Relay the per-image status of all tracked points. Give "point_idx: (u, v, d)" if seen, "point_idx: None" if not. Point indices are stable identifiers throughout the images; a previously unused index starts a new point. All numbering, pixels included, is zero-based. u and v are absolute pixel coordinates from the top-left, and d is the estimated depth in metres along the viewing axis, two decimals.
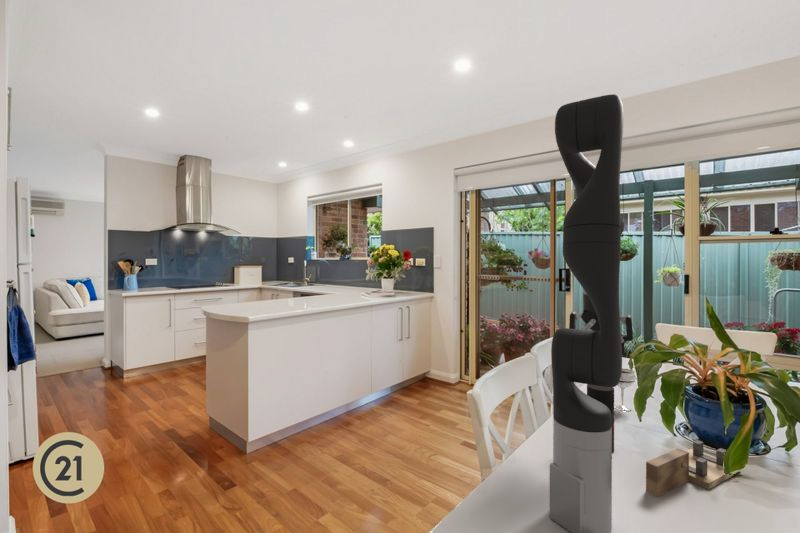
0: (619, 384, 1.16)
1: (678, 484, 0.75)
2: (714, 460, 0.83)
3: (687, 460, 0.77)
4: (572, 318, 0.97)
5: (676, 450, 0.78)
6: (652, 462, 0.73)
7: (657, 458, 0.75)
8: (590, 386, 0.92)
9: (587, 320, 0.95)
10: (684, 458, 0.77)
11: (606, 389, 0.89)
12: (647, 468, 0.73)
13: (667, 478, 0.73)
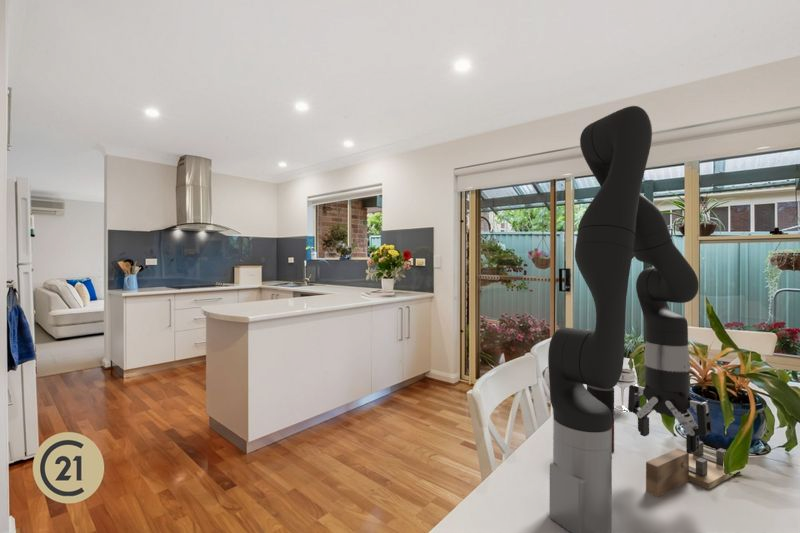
0: (619, 384, 1.16)
1: (678, 484, 0.75)
2: (714, 460, 0.83)
3: (687, 460, 0.77)
4: (632, 391, 0.81)
5: (676, 450, 0.78)
6: (652, 462, 0.73)
7: (657, 458, 0.75)
8: (590, 386, 0.92)
9: (649, 397, 0.78)
10: (684, 458, 0.77)
11: (606, 389, 0.89)
12: (647, 468, 0.73)
13: (667, 478, 0.73)
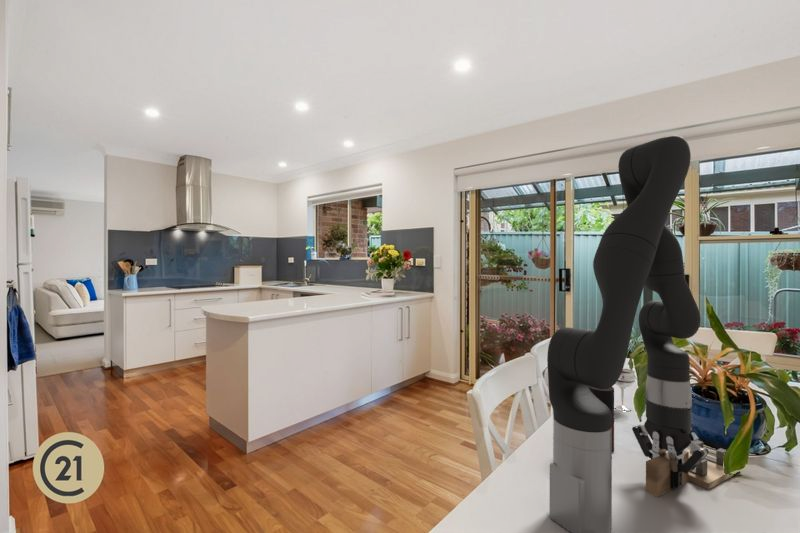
0: (619, 384, 1.16)
1: None
2: (714, 460, 0.83)
3: None
4: (637, 433, 0.80)
5: None
6: (652, 462, 0.73)
7: (657, 458, 0.75)
8: (590, 386, 0.92)
9: (652, 436, 0.77)
10: (684, 457, 0.77)
11: (606, 389, 0.89)
12: (647, 467, 0.73)
13: (667, 478, 0.74)
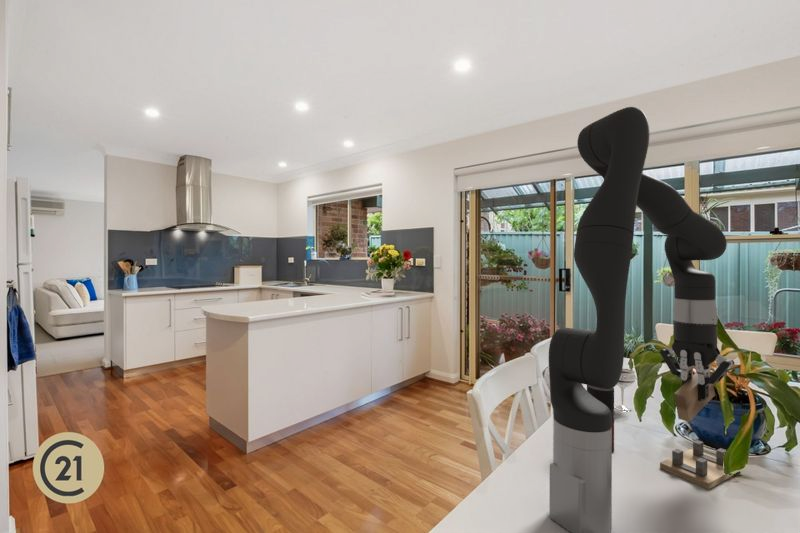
0: (619, 384, 1.16)
1: (706, 402, 0.81)
2: (714, 460, 0.83)
3: None
4: (664, 355, 0.85)
5: None
6: (679, 392, 0.79)
7: (683, 386, 0.80)
8: (590, 386, 0.92)
9: (679, 355, 0.83)
10: None
11: (606, 389, 0.89)
12: (676, 398, 0.79)
13: (695, 402, 0.79)
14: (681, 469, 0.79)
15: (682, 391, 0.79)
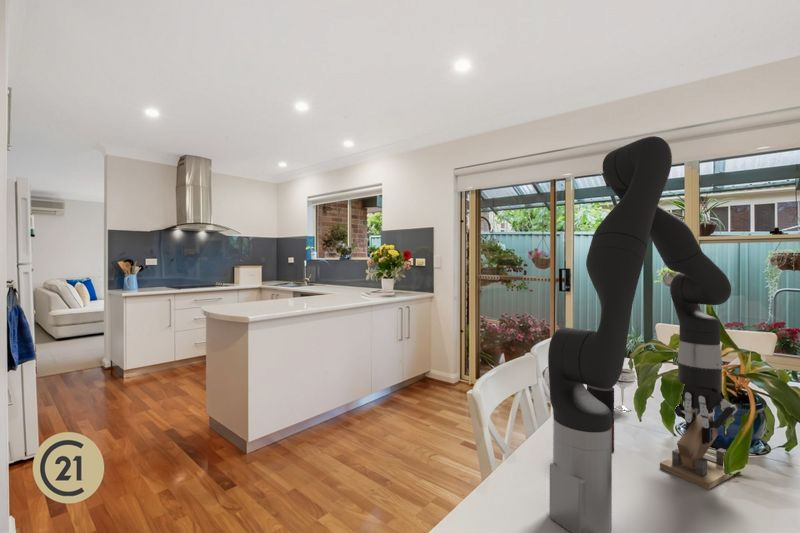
0: (619, 384, 1.16)
1: (709, 444, 0.82)
2: (714, 460, 0.83)
3: None
4: None
5: None
6: (682, 442, 0.79)
7: (686, 433, 0.80)
8: (590, 386, 0.92)
9: (684, 397, 0.83)
10: None
11: (606, 389, 0.89)
12: (679, 448, 0.79)
13: (699, 448, 0.80)
14: (681, 469, 0.79)
15: (685, 440, 0.79)
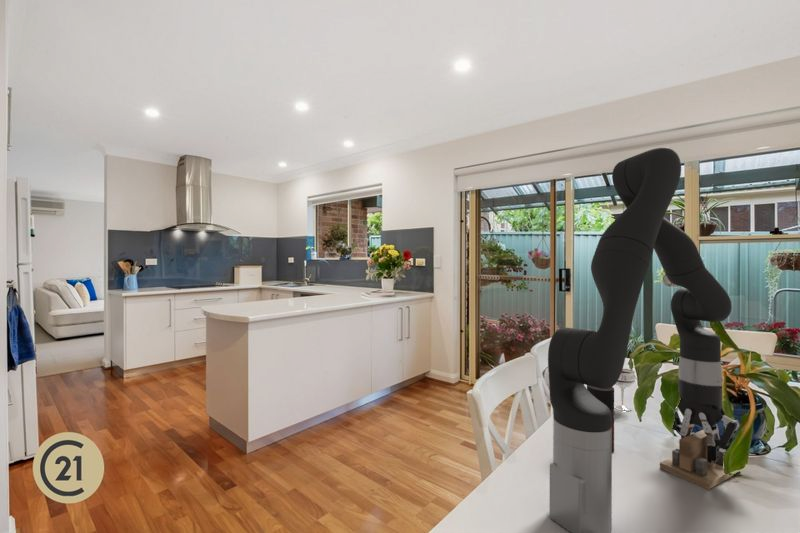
0: (619, 384, 1.16)
1: None
2: None
3: None
4: None
5: None
6: (685, 439, 0.80)
7: (689, 436, 0.81)
8: (590, 386, 0.92)
9: (684, 412, 0.83)
10: None
11: (606, 389, 0.89)
12: (680, 445, 0.80)
13: (699, 455, 0.80)
14: (681, 469, 0.79)
15: (688, 439, 0.80)
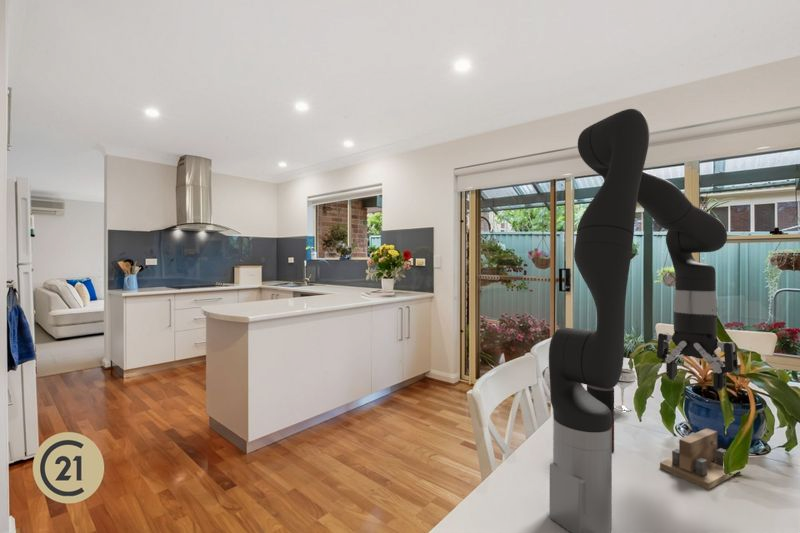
0: (619, 384, 1.16)
1: (708, 460, 0.82)
2: (714, 460, 0.83)
3: (716, 438, 0.83)
4: (661, 339, 0.87)
5: (705, 430, 0.84)
6: (685, 439, 0.80)
7: (689, 436, 0.81)
8: (590, 386, 0.92)
9: (678, 342, 0.84)
10: (713, 436, 0.83)
11: (606, 389, 0.89)
12: (680, 445, 0.80)
13: (699, 455, 0.80)
14: (681, 469, 0.79)
15: (688, 439, 0.80)
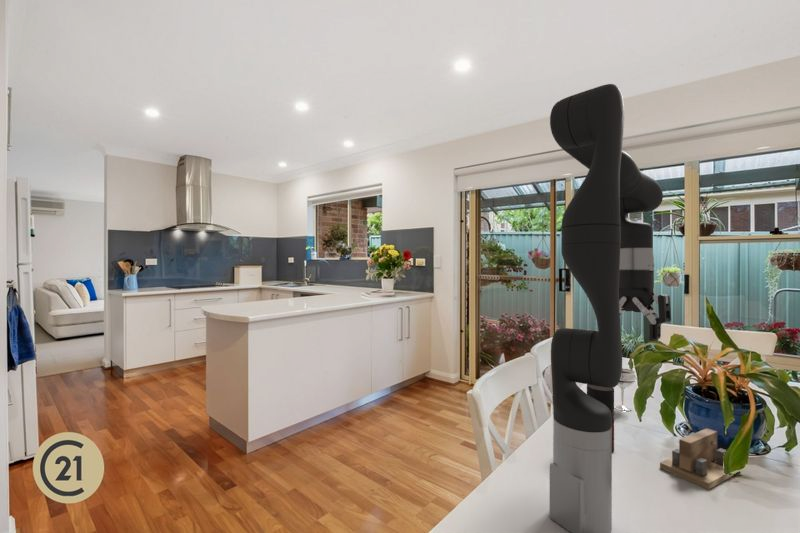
0: (619, 384, 1.16)
1: (708, 460, 0.82)
2: (714, 460, 0.83)
3: (716, 438, 0.83)
4: None
5: (705, 430, 0.84)
6: (685, 439, 0.80)
7: (689, 436, 0.81)
8: (590, 386, 0.92)
9: (619, 299, 0.88)
10: (713, 436, 0.83)
11: (606, 389, 0.89)
12: (680, 445, 0.80)
13: (699, 455, 0.80)
14: (681, 469, 0.79)
15: (688, 439, 0.80)
